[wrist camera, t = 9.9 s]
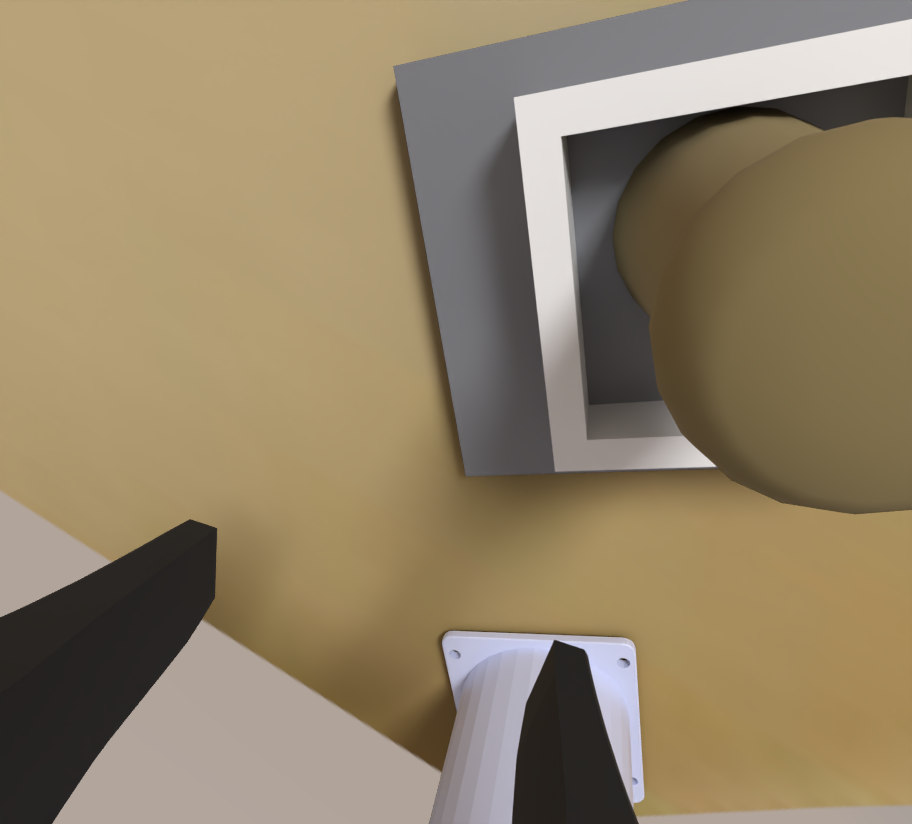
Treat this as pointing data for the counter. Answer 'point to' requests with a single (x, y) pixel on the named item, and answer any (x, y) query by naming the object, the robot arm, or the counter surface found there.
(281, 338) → the counter surface
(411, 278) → the counter surface
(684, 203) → the cork
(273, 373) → the counter surface
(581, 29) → the socket dock
